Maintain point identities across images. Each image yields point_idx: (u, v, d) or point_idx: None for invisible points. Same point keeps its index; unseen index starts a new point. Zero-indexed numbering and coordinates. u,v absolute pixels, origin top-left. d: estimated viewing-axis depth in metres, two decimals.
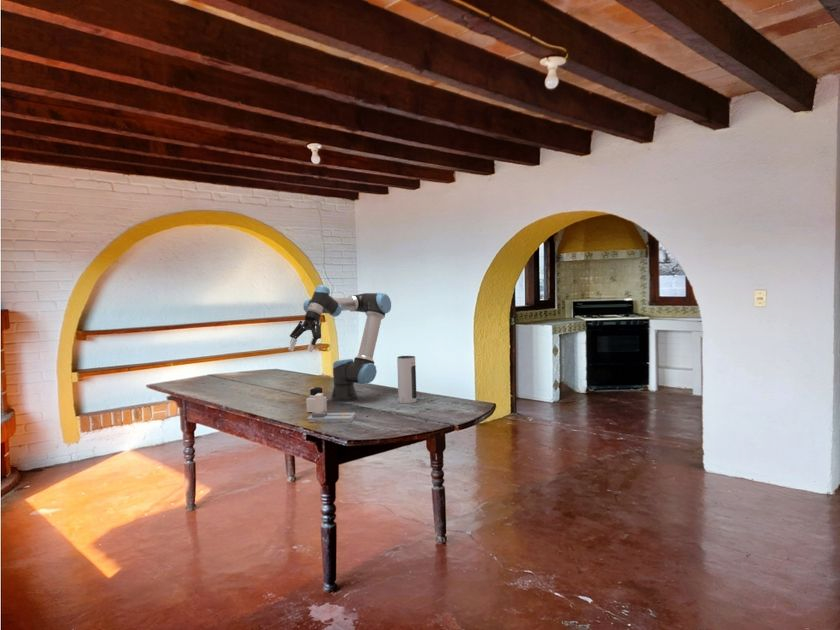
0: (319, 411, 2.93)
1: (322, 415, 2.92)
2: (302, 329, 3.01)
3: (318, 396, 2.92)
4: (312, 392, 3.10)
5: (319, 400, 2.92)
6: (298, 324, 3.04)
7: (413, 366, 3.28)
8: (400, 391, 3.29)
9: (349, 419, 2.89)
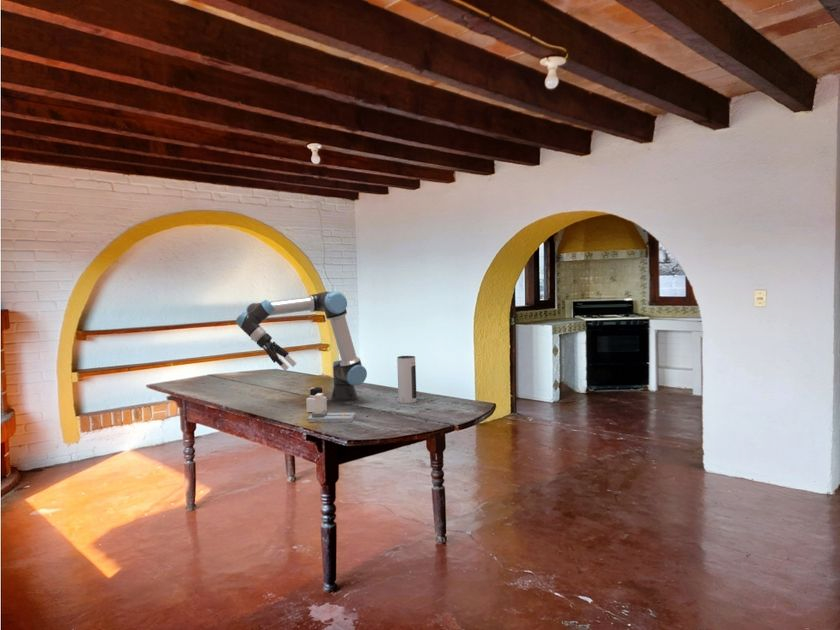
0: (319, 411, 2.93)
1: (322, 415, 2.92)
2: (276, 351, 3.03)
3: (318, 396, 2.92)
4: (312, 392, 3.10)
5: (319, 400, 2.92)
6: None
7: (413, 366, 3.28)
8: (400, 391, 3.29)
9: (349, 419, 2.89)
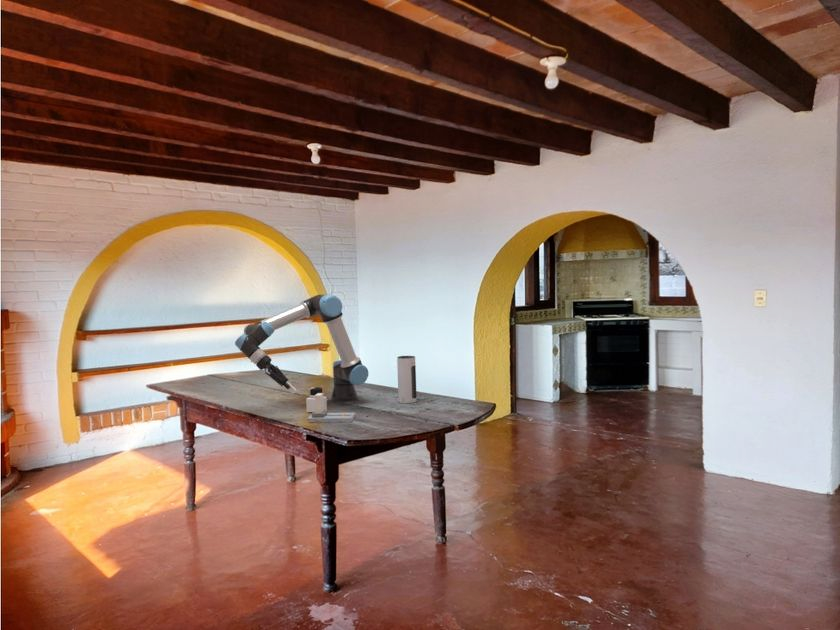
0: (319, 411, 2.93)
1: (322, 415, 2.92)
2: None
3: (318, 396, 2.92)
4: (312, 392, 3.10)
5: (319, 400, 2.92)
6: None
7: (413, 366, 3.28)
8: (400, 391, 3.29)
9: (349, 419, 2.89)
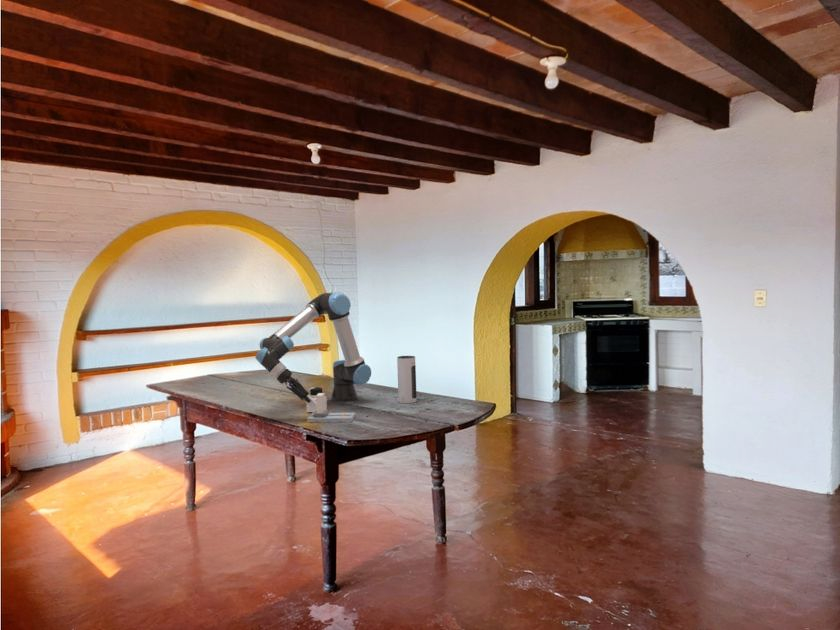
0: (320, 411, 2.93)
1: (323, 415, 2.92)
2: None
3: (319, 396, 2.92)
4: (312, 392, 3.10)
5: (320, 400, 2.92)
6: None
7: (413, 366, 3.28)
8: (400, 391, 3.29)
9: (349, 419, 2.89)
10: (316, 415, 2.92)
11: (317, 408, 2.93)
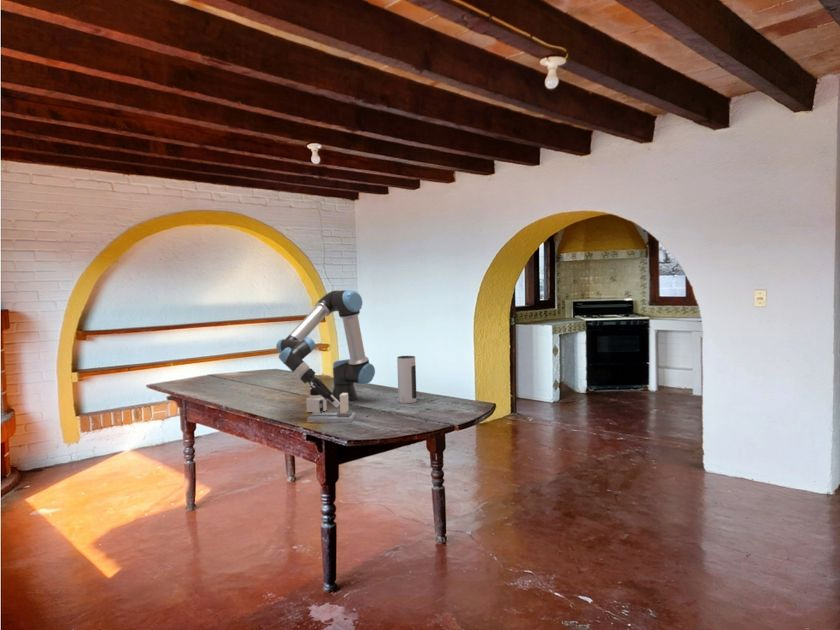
0: (344, 411, 2.92)
1: (347, 415, 2.91)
2: None
3: (343, 396, 2.91)
4: (312, 392, 3.10)
5: (344, 400, 2.91)
6: None
7: (413, 366, 3.28)
8: (400, 391, 3.29)
9: (349, 419, 2.89)
10: (340, 415, 2.91)
11: (341, 408, 2.92)
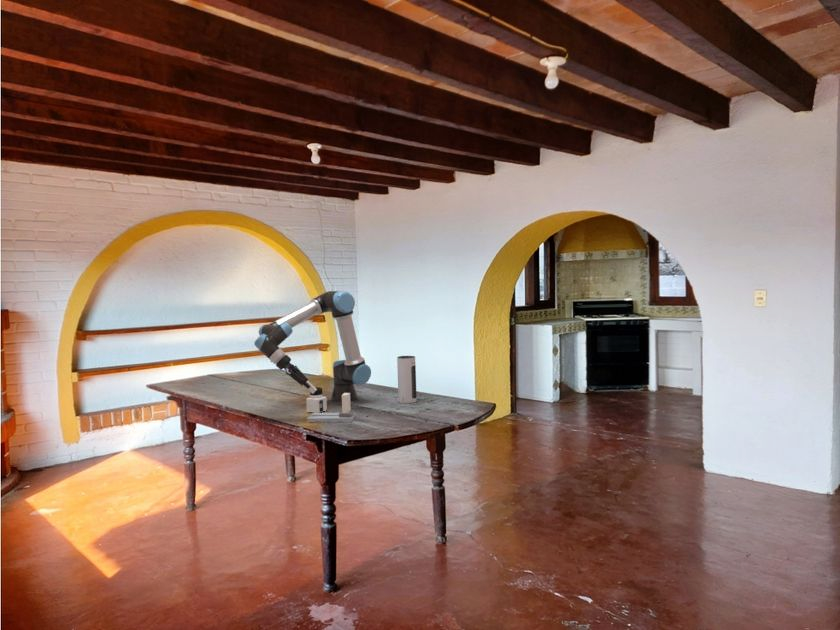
0: (346, 411, 2.92)
1: (349, 415, 2.91)
2: None
3: (345, 396, 2.91)
4: None
5: (346, 400, 2.91)
6: None
7: (413, 366, 3.28)
8: (400, 391, 3.29)
9: (349, 419, 2.89)
10: (342, 415, 2.91)
11: (343, 408, 2.92)
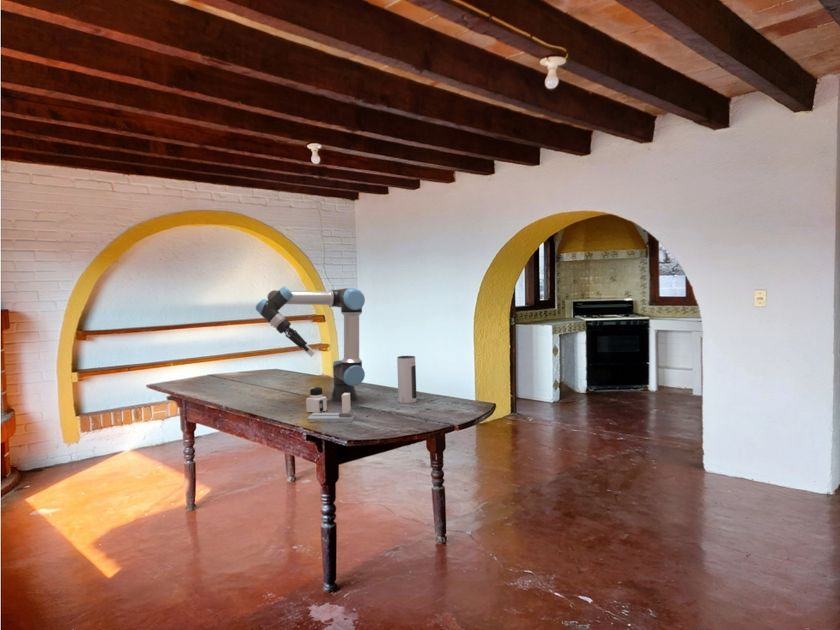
0: (346, 411, 2.92)
1: (349, 415, 2.91)
2: None
3: (345, 396, 2.91)
4: (312, 392, 3.10)
5: (346, 400, 2.91)
6: None
7: (413, 366, 3.28)
8: (400, 391, 3.29)
9: (349, 419, 2.89)
10: (342, 415, 2.91)
11: (343, 408, 2.92)
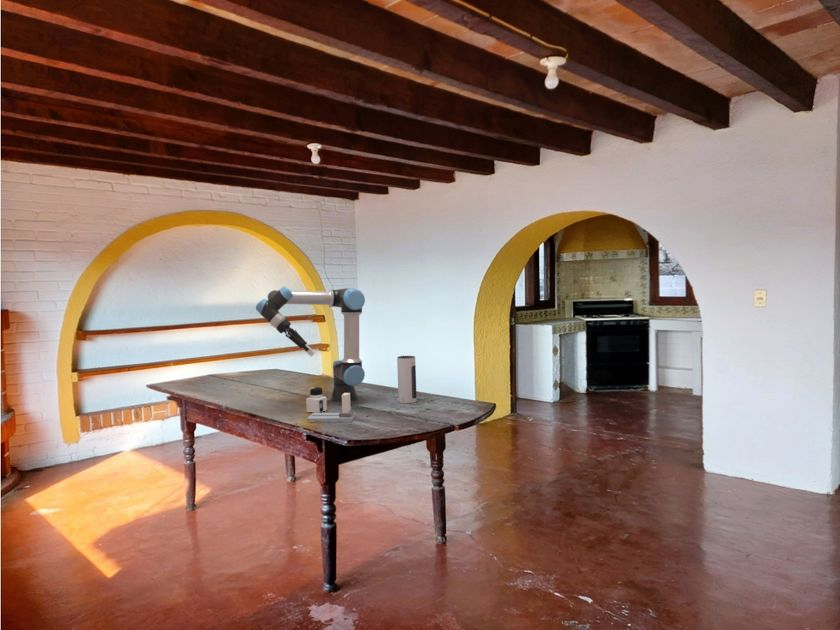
0: (346, 411, 2.92)
1: (349, 415, 2.91)
2: None
3: (345, 396, 2.91)
4: (312, 392, 3.10)
5: (346, 400, 2.91)
6: None
7: (413, 366, 3.28)
8: (400, 391, 3.29)
9: (349, 419, 2.89)
10: (342, 415, 2.91)
11: (343, 408, 2.92)
